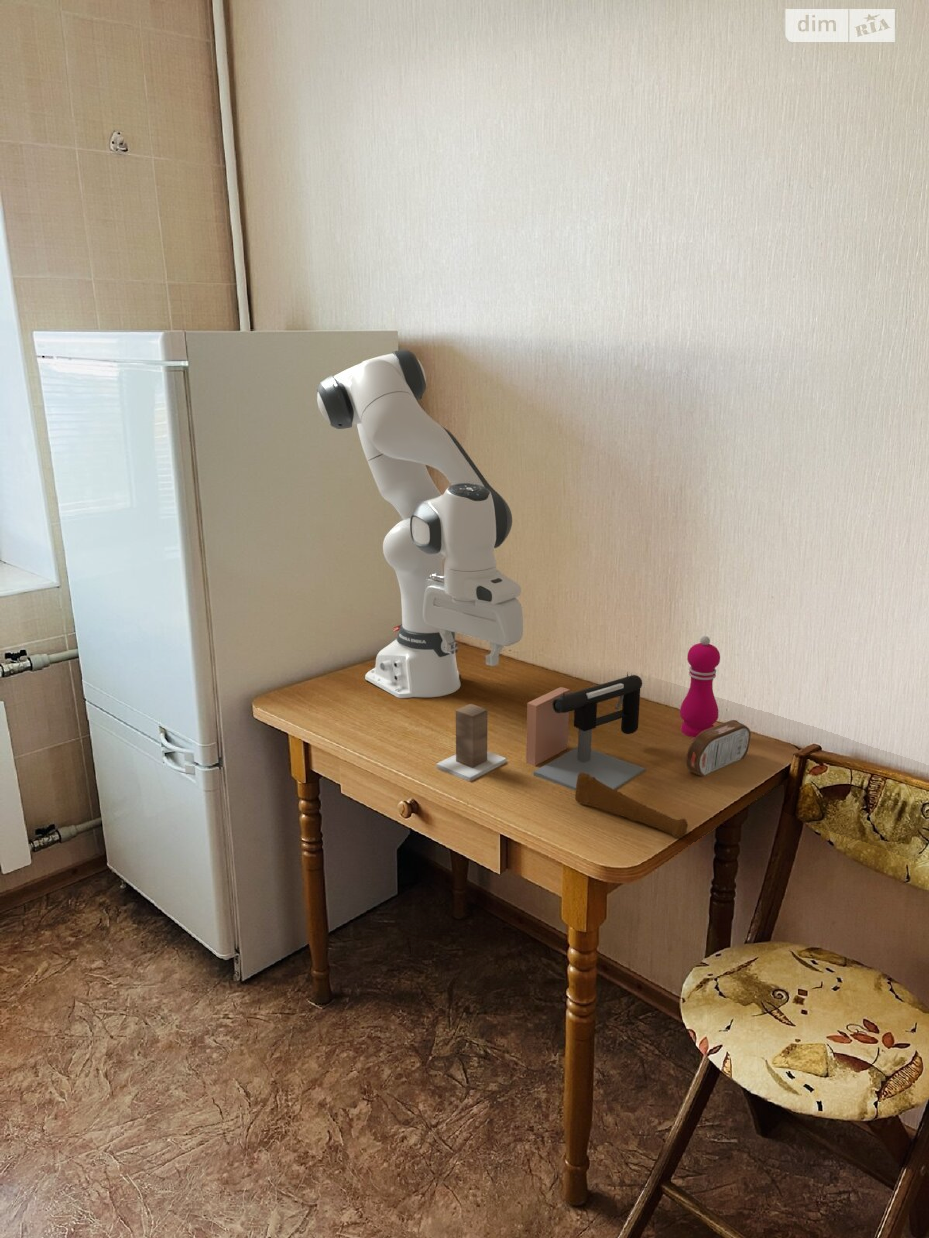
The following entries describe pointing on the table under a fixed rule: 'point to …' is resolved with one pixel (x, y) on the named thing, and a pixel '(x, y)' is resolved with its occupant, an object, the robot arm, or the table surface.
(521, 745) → the table surface
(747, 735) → the tin
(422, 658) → the robot arm
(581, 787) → the primitive tool
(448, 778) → the table surface
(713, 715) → the pepper mill
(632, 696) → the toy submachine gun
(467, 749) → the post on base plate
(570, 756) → the mat
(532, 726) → the tile
